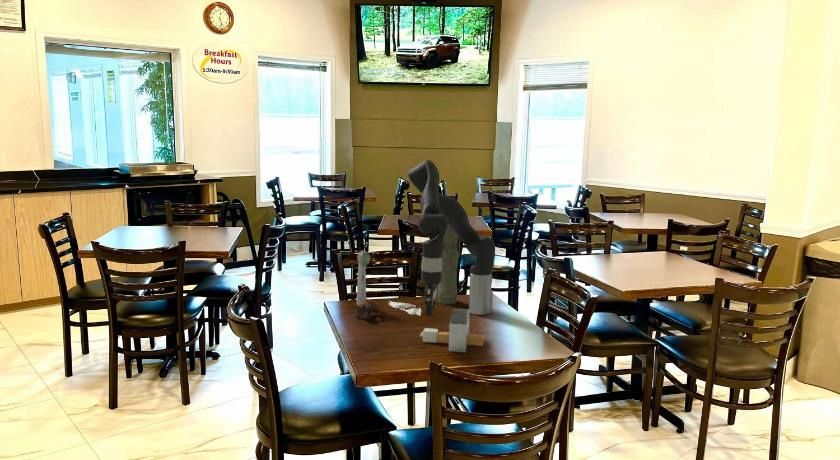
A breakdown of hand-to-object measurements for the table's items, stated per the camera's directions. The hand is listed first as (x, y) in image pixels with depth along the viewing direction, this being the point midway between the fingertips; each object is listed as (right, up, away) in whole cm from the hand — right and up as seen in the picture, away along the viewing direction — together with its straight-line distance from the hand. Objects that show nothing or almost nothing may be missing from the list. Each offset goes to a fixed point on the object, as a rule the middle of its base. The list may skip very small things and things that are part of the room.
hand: (430, 312), depth 230 cm
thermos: (+9, -3, +58) cm, 58 cm away
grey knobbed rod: (-29, -4, +47) cm, 56 cm away
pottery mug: (-27, -7, +29) cm, 40 cm away
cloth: (-10, -5, +46) cm, 47 cm away
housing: (+11, -11, 0) cm, 15 cm away
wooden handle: (+8, -11, +1) cm, 14 cm away
